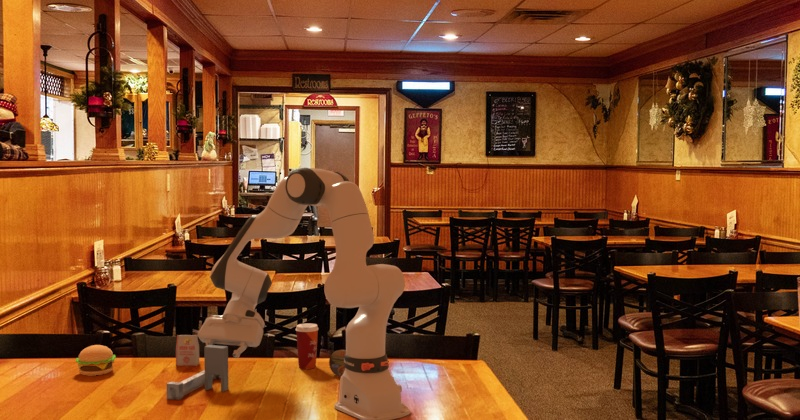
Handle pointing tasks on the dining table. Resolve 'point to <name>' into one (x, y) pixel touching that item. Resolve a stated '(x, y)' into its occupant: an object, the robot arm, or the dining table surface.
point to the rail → (187, 385)
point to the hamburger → (95, 360)
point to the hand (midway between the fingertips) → (221, 355)
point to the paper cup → (307, 345)
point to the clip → (216, 365)
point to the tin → (337, 362)
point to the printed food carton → (187, 350)
